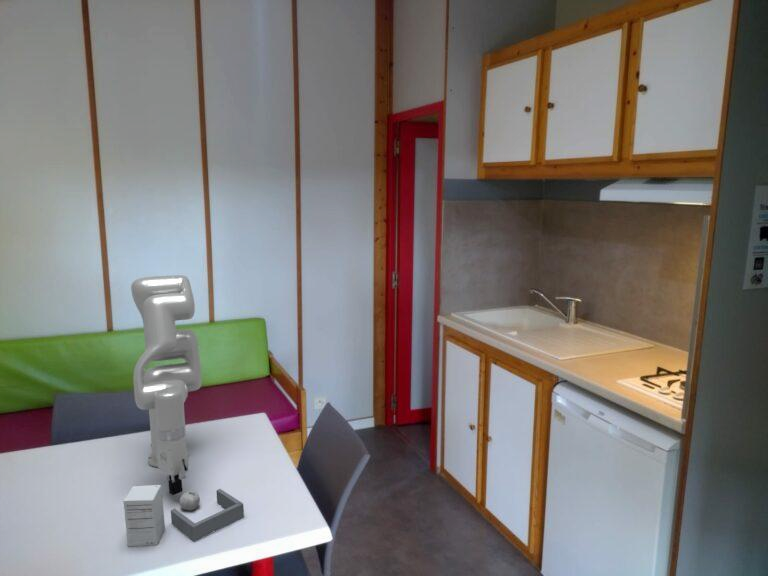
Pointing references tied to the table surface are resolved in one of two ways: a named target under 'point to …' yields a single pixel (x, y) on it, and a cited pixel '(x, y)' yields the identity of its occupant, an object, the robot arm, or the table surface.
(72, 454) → the table surface
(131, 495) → the supplement box
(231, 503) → the box
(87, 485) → the table surface
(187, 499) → the garlic
